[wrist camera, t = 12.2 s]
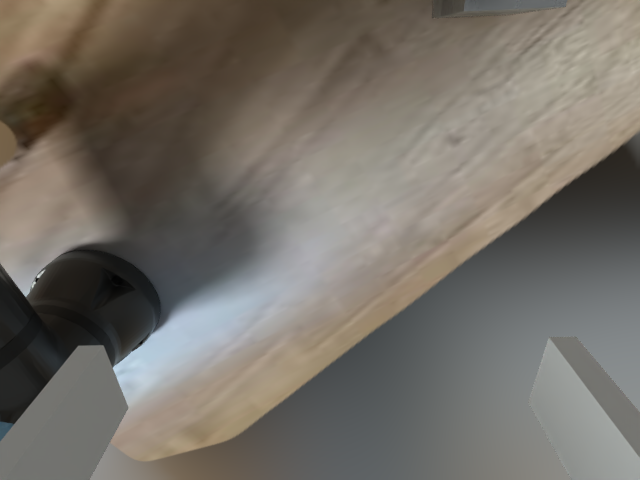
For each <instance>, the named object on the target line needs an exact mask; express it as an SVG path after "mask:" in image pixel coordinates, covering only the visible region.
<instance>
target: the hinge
mask: <svg viewBox="0 0 640 480" xmlns="http://www.w3.org/2000/svg"><path fill="white" fill-rule="evenodd" d="M566 3H567V0H434V1H433V12H432V18H451V17H473V16H496V15H513V14H519V13H526V12H533V11H540V10H547V9H554V8H561V7H566Z"/></svg>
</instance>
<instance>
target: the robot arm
mask: <svg viewBox="0 0 640 480" xmlns="http://www.w3.org/2000/svg"><path fill="white" fill-rule="evenodd" d="M159 318H160V302H159V298H158V295H157V293H156V291H155V289H154V287H153V286H152V284H151V283H150V281H149V280H148V279H147V278H146V277H145V276H144V275H143V274H142V273H141V272H140V271H139V270H138V269H136V268H135V267H134V266H132V265H131V264H129V263H128V262H126V261H124V260H122V259H120V258H118V257H116V256H113V255H110V254H107V253H103V252H98V251H90V250H80V251H73V252H69V253H66V254H63V255H61V256H59V257H57V258H56V259H54V260H53V261H52V262H51V263H49V264H48V265H47V266H46V267H44V268H43V269H42V270H41V271H40V272H39V274H38V275H37V276H36V278H35V279H34V281H33V283H32V286H31V289H30V293H29V294H28V295H27V297H25V296H24V295H23V293H22V292H21V291H20V289H19V288H18V287H17V285H16V284H15V283H14V281H13V280H12V279H11V277H10V276H9V275H8V273H7V272H6V271H5V269H4V268H3V267H2V265H1V264H0V480H90V478H91V476H92V474H93V472H94V471H95V469H96V467H97V465H98V463H99V461H100V459H101V458H102V456H103V454H104V452H105V450H106V448H107V447H108V444H109V443H110V441H111V439H112V437H113V435H114V434H115V432H116V430H117V428H118V426H119V424H120V422H121V421H122V419H123V417H124V415H125V413H126V411H127V410H128V405H127V403H126V400H125V398H124V395H123V393H122V390H121V388H120V385H119V383H118V380H117V378H116V375H115V373H114V370H113V367H114V366H115V365H116V364H118V363H119V362H120V361H122V360H123V359H124V358H125V357H126V356H128V355H129V354H130V353H131V352H132V351H134V350H135V349H137V348H138V347H140V346H141V345H142V344H143V343H144V342H145V341H146V340H147V339H148V338H149V337H150V335H151V333H152V332H153V330H154V328H155V327H156V325H157V323H158V321H159ZM528 403H529V405H530V407H531V409H532V410H533V412H534V414H535V415H536V417H537V419H538V421H539V423H540V425H541V426H542V428H543V430H544V432H545V434H546V435H547V437H548V439H549V441H550V443H551V444H552V446H553V448H554V450H555V452H556V453H557V455H558V457H559V459H560V461H561V462H562V464H563V466H564V468H565V469H566V471H567V473H568V475H569V477H570V478H571V480H640V412H639V411H638V410H637V408H636V407H635V406H634V405H633V404H632V403H631V401H630V400H629V399H628V398H627V397H626V395H625V394H624V393H623V392H622V391H621V390H620V388H619V387H618V386H617V385H616V384H615V382H614V381H613V380H612V379H611V378H610V376H609V375H608V374H607V373H606V372H605V371H604V369H603V368H602V367H601V366H600V365H599V363H598V362H597V361H596V360H595V359H594V358H593V356H592V355H591V354H590V353H589V352H588V351H587V349H586V348H585V347H584V346H583V345H582V343H581V342H580V341H579V340H578V339H577V337H549V339H548V342H547V346H546V348H545V352H544V355H543V358H542V361H541V364H540V368H539V371H538V374H537V377H536V380H535V383H534V386H533V390H532V392H531V396H530V399H529V402H528Z"/></svg>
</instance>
